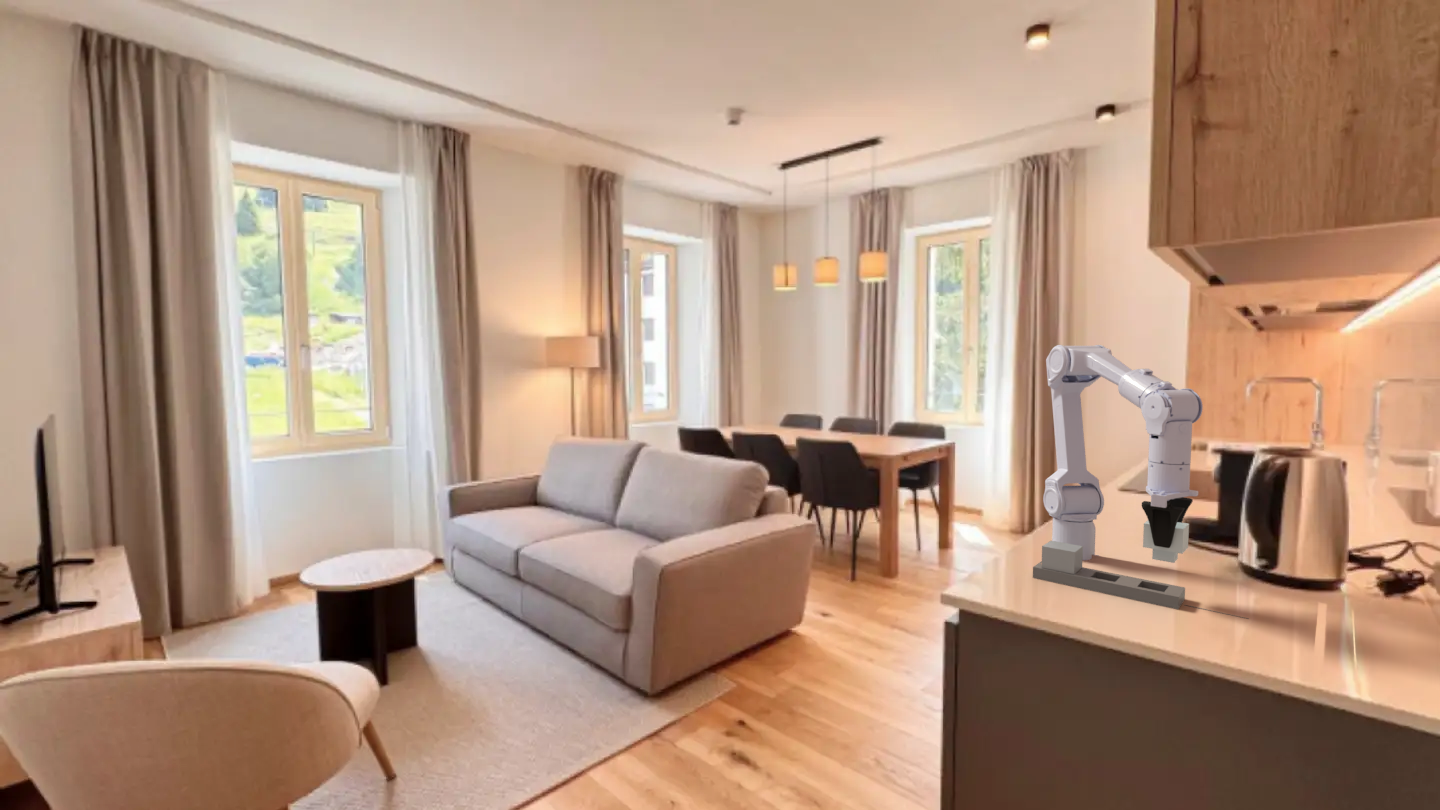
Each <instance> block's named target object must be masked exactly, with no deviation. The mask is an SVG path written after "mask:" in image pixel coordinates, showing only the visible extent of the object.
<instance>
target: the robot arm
mask: <svg viewBox="0 0 1440 810" xmlns="http://www.w3.org/2000/svg"><path fill="white" fill-rule="evenodd" d="M1045 363H1046V364H1045V365H1046V376H1047V377H1046V378H1047V386H1048V387H1049V388H1050V393H1051V404H1052V415H1053V428H1054V429H1053V430H1054V442H1055V453H1056V455H1055V457H1056V467H1057V468H1056V471H1055V472H1054V473H1052V474H1051V475H1050V476H1049V477H1047V478H1046V479H1044V480H1045V481H1044V485H1045V486H1044V487H1045V488H1044V493H1043V496H1042V497H1043V498H1042V499H1043V500H1042V502H1043V506H1044V508H1045V510H1046V511H1047V513H1048V515H1049V516H1050V517H1052V528H1051V529H1052V533H1051V534H1052V536H1051V541H1056V542H1062V543H1068V544H1073V545H1079V546H1083V559H1082V561H1089V560H1091V559H1092V558H1093V557H1092V556H1098V557H1100V555H1098V554H1096V553H1095V552H1096V524H1095V522H1094V520H1098V518H1097V516H1098V515H1101V513H1102V511H1103V509H1104V506H1105V498H1104V493H1103V492H1102V490H1101V487H1100V480H1099V478H1098V477H1096V476H1095V475H1094V474H1092V473H1091V472H1090V471H1089V470H1088V469H1087V458H1086V449H1085V448H1086V446H1085V434H1084V423H1083V422H1084V421H1083V412H1082V411H1083V410H1082V397H1081V395H1082V392H1083V391H1084V390H1085V388H1088V387H1090V386H1091V385H1093V384H1094V383H1095V382H1096V381H1098V380H1099V379H1100V378H1103V379H1105V380H1106V381H1109V382H1111V383H1112V384H1114V385H1116V386H1117V389H1118V391H1117V392H1118V393H1119V395H1120V396H1121V397H1123V398H1124V399H1126V400H1127V401H1128V402H1130V403H1131V404H1133V405H1134V406H1136V407H1137V408H1138V409H1140V411H1141V415H1142V417H1143V419H1144V421H1145V431H1146V432H1147V435H1148V434H1149V437H1148V438H1149V439H1148V458H1147V460H1148V461H1147V481H1146V482H1147V485H1146V486H1145V492H1146V493H1147V494H1148V495H1149V496H1150V501H1146V500H1144V501H1142V502H1141V509H1142V510H1143V511H1144V514H1145V516H1146V518H1147V521H1149V524H1150V528H1151V533H1152V538H1153V542H1154V545H1155V546H1159V547H1165V548H1170V546H1171V544H1172V541H1173V536H1174V532H1175V527H1176V524H1177V522H1181V523H1183V521H1184V519H1185V515H1186V513H1187V511H1188V509H1189V508H1190V506H1191V505H1192V503H1193V500H1194V499H1193V498H1191V497H1198V496H1199V490H1194V489H1190V483H1191V482H1190V481H1191V480H1190V479H1191V463H1192V462H1191V461H1192V459H1191V457H1192V438H1193V437H1192V436H1193V424H1194V423H1196V422H1197V421H1199V419H1200V418H1201V416H1202V413H1203V410H1204V407H1203V401H1202V398H1201V396H1199V394H1198V393H1197V392H1196V391H1194V389H1192V388H1180V389H1179V388H1176V387H1174V386H1173V383H1171V382H1170V381H1165V380H1163V379H1161V378H1160V377H1158V376H1156V375H1154V371H1153V370H1151V369H1150V368H1136V369H1131V368H1130V367H1129V366H1127V365H1126V364H1124V363H1123V362H1122V361H1121V360H1120V359H1118V358H1117V357H1115V356H1114V355H1113V352H1112V349H1110V348H1107V347H1106V346H1104V345H1102V344H1095V345H1063V344H1057V345H1055V346H1054V347H1052V349H1051V350H1050V352H1049V354H1048V355H1047V357H1046V359H1045ZM1068 484H1078V485H1068Z"/></svg>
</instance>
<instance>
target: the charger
mask: <svg viewBox="0 0 1440 810" xmlns="http://www.w3.org/2000/svg"><path fill="white" fill-rule="evenodd" d="M1142 533H1143V534H1142V535H1143V538H1142V539H1143V540H1142V547H1143V548H1145V549H1152V554H1151V555H1152V556H1151V558H1152V560H1156V561H1160V562H1161V561H1162V562H1168V563H1173V564H1174V563H1176V561H1178V559H1179V554H1181V555H1182V554H1184V553H1185V552H1186V551H1187V549H1188V548H1189V536H1190V534H1189V533H1190V523H1189V522H1188V523H1187V522H1182V523H1181V522H1177V524H1176V527H1175V532H1174V536H1173V541H1172V544H1171V546H1170V548H1165V547H1159V546H1155V545H1154V542H1153V538H1152V533H1151V528H1150V524H1149V521H1148V520H1147V521H1145V522H1144V523H1143V532H1142Z"/></svg>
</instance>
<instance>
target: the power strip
mask: <svg viewBox="0 0 1440 810" xmlns="http://www.w3.org/2000/svg"><path fill="white" fill-rule="evenodd" d="M1082 559H1083V546H1079V545H1073V544H1068V543H1062V542H1056V541H1052V540H1050V541H1048V542H1046V543H1044V544H1043V545H1042V546H1041V561H1039V562H1038V563H1036V564H1034V566H1032V578H1033V579H1035V580H1036V579H1037V580H1041V581H1044V582H1045V581H1046V582H1050V583H1055V584H1060V585H1064V586H1067V587H1072V588H1077V589H1081V590H1087V591H1091V592H1096V593H1101V594H1104V595H1110V596H1114V597H1119V598H1123V599H1127V600H1132V601H1137V602H1142V603H1144V604H1145V603H1146V604H1150V605H1156V606H1160V607H1164V608H1169V609H1173V610H1179V609H1180V608H1181V606H1182V604H1183V603H1184V601H1185V600H1186V587H1185V586H1181V585H1180V586H1179V585H1175V584H1169V583H1164V582H1159V581H1154V580H1149V579H1145V578H1138V577H1133V576H1128V575H1123V574H1118V573H1113V572H1108V571H1103V570H1098V569H1093V568H1088V567H1085V566H1084V567H1083V560H1082ZM1183 606H1185V607H1189V608H1194V609H1198V610H1203V611H1209V612H1214V613H1217V614H1223V615H1227V616H1230V617H1231V616H1232V617H1235V618H1237V617H1238V618H1241V619H1246V620H1249V619H1250V618H1248V617H1243V616H1239V615H1235V614H1229V613H1225V612H1221V611H1215V610H1211V609H1207V608H1202V607H1197V606H1192V605H1188V604H1183Z"/></svg>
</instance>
